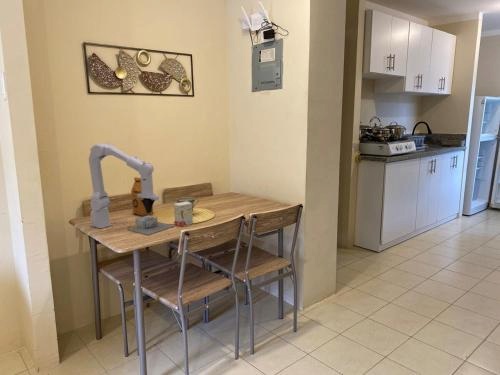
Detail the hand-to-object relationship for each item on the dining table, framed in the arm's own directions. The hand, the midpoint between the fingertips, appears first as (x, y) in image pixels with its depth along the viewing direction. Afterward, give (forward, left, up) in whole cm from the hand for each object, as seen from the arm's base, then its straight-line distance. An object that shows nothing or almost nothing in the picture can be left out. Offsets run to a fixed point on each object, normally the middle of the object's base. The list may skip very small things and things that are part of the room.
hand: (148, 212), depth 193 cm
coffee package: (-25, +16, -8) cm, 31 cm away
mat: (+2, -1, -8) cm, 8 cm away
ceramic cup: (0, +29, -8) cm, 30 cm away
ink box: (+12, +13, -8) cm, 19 cm away
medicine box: (-6, 0, -5) cm, 8 cm away
